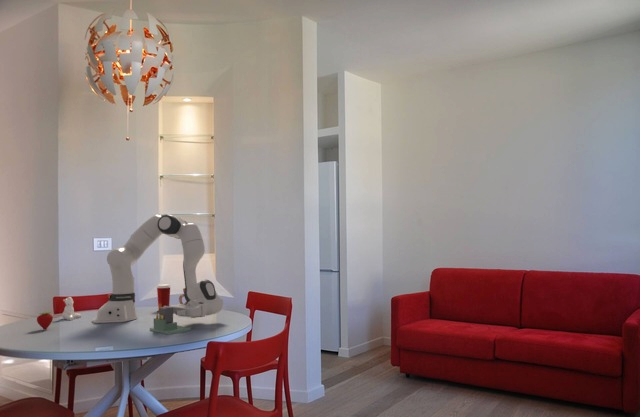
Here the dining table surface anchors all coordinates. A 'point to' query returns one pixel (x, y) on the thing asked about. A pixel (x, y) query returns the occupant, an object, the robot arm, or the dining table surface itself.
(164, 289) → the coffee cup
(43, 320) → the strawberry
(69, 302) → the white creature statuette
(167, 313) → the plug block
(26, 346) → the dining table surface
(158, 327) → the header board
